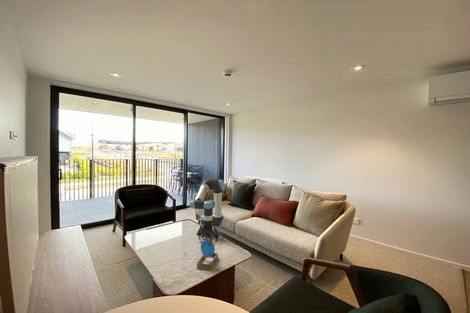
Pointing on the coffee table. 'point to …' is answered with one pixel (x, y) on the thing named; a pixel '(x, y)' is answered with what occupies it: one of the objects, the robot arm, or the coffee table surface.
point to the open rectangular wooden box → (207, 261)
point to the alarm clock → (207, 247)
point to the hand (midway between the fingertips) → (207, 244)
